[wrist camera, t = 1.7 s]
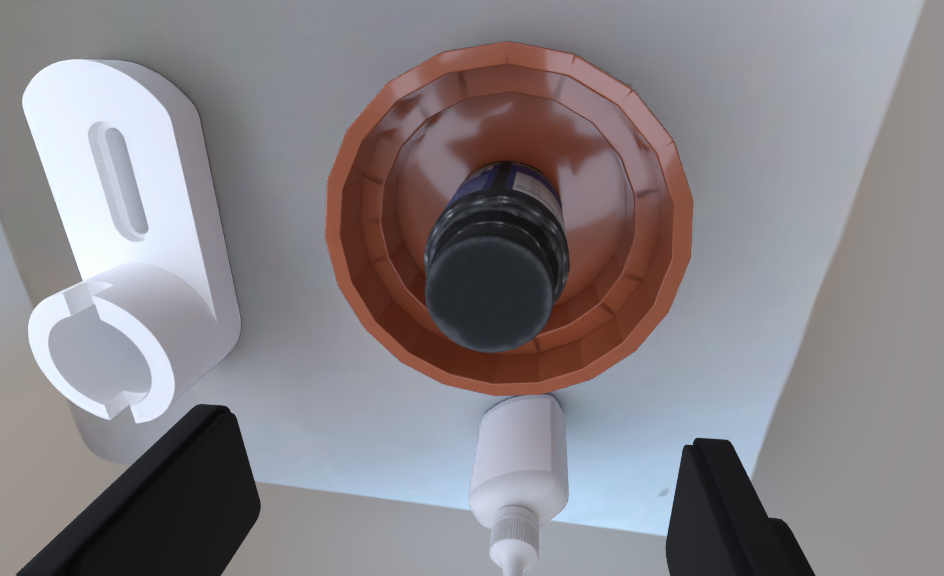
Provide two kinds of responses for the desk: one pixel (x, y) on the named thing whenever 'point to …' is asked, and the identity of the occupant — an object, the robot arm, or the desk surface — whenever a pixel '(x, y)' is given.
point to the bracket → (129, 239)
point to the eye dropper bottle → (519, 477)
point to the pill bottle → (497, 258)
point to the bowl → (536, 144)
